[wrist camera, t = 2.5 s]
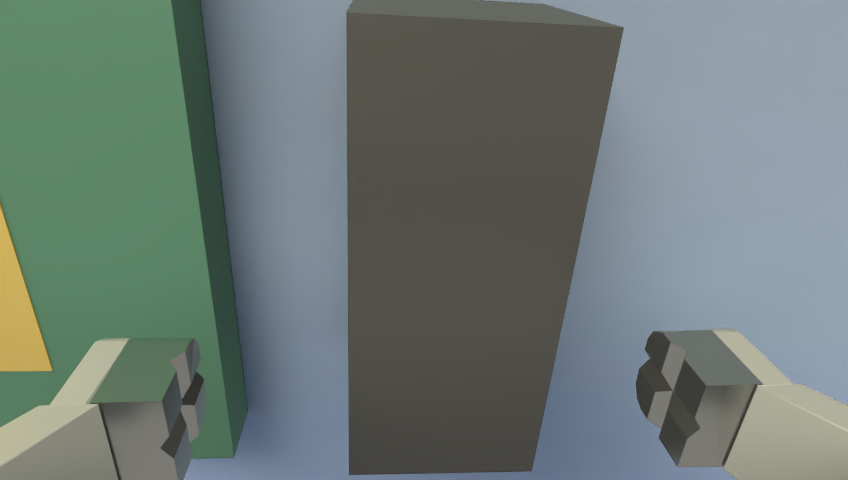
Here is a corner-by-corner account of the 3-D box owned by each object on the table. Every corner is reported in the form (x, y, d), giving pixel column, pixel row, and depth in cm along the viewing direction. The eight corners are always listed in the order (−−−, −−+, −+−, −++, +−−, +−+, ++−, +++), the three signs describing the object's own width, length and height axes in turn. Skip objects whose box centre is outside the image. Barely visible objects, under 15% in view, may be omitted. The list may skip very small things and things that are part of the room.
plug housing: (544, 4, 14) (623, 27, 9) (495, 347, 18) (531, 470, 14) (357, -7, 13) (346, 13, 9) (356, 347, 18) (348, 474, 14)
